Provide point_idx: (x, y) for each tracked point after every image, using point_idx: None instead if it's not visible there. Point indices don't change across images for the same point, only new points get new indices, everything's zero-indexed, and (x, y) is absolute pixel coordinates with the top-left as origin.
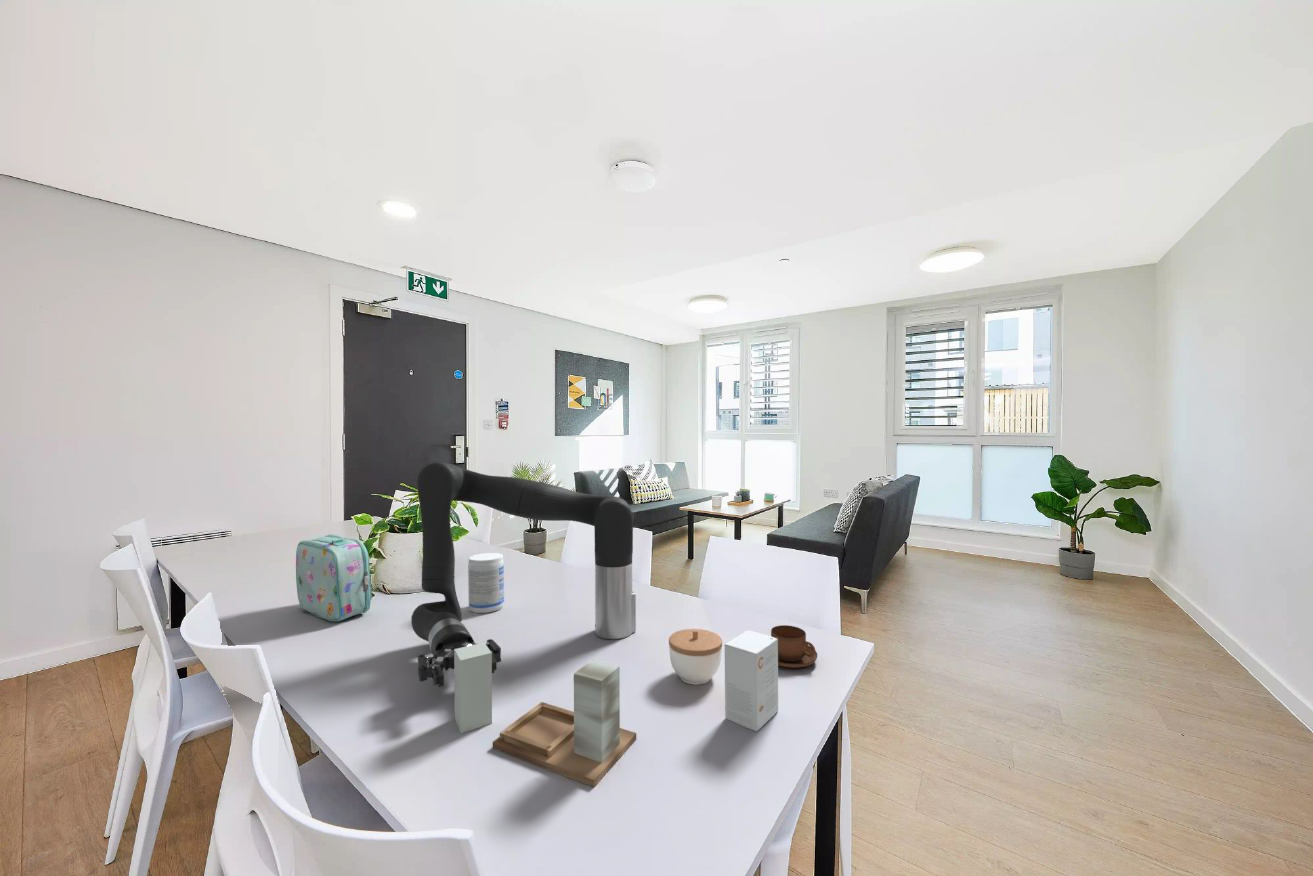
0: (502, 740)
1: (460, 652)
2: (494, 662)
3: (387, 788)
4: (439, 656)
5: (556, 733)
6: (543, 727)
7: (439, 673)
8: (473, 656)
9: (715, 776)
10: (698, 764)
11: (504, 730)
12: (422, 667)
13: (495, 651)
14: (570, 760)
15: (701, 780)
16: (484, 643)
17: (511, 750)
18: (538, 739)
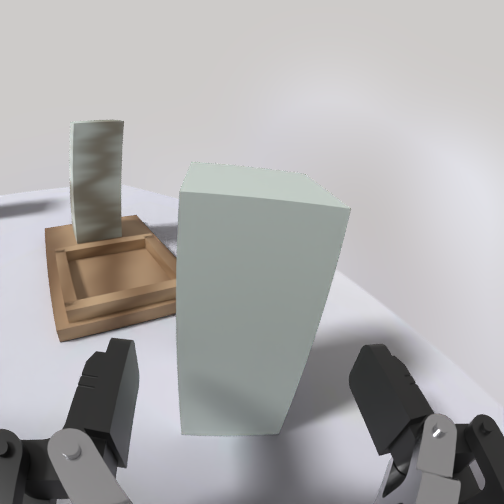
0: None
1: (313, 190)
2: (104, 354)
3: (368, 302)
4: (452, 488)
5: (109, 263)
6: (113, 280)
7: (387, 350)
8: (259, 168)
9: (58, 201)
10: (51, 208)
11: None
12: (482, 414)
13: (25, 451)
14: (134, 232)
15: (68, 202)
16: (184, 186)
17: None
18: (140, 267)
